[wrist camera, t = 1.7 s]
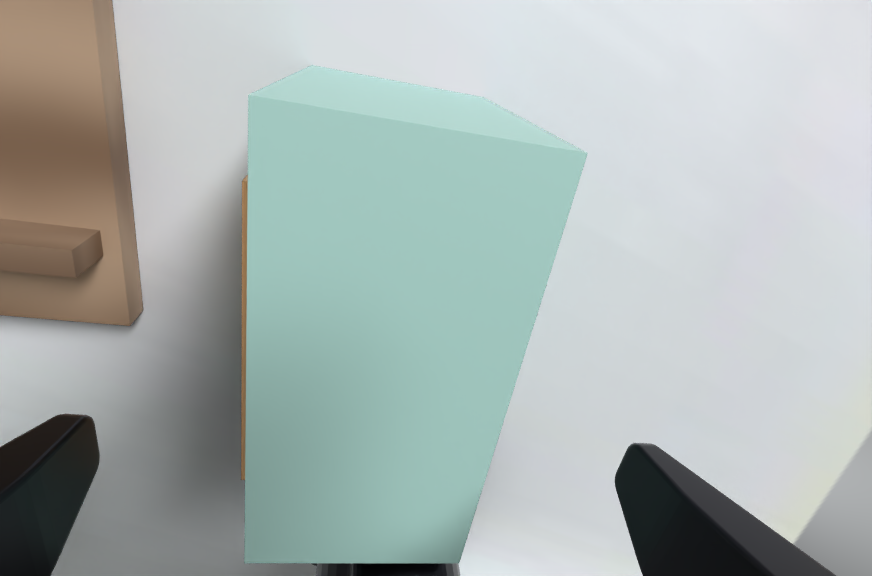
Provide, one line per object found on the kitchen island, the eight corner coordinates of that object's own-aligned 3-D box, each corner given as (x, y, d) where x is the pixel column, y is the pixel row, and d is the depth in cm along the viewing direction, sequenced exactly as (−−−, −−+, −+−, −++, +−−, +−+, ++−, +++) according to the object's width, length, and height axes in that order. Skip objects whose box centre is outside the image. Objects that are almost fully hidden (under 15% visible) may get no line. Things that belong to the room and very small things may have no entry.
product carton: (426, 366, 19) (458, 563, 12) (285, 355, 18) (230, 563, 11) (482, 97, 15) (588, 153, 7) (301, 63, 14) (225, 90, 6)
